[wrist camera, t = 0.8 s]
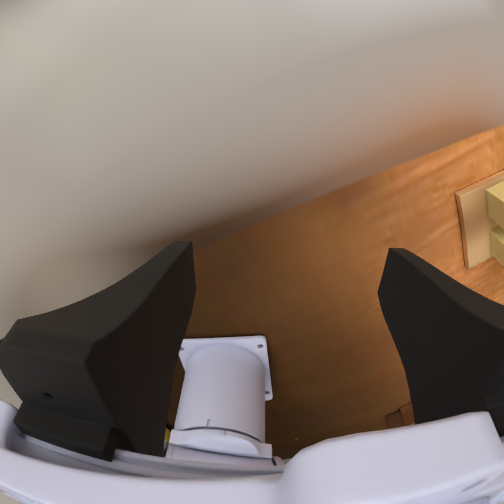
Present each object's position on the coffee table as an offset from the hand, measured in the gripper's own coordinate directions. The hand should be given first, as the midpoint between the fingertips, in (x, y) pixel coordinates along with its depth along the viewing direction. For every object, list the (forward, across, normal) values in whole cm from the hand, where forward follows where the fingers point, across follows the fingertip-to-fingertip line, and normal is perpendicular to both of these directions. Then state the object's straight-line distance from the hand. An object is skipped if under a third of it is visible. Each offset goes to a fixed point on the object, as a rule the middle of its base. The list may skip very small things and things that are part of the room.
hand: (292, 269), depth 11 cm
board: (+10, -19, 0) cm, 22 cm away
